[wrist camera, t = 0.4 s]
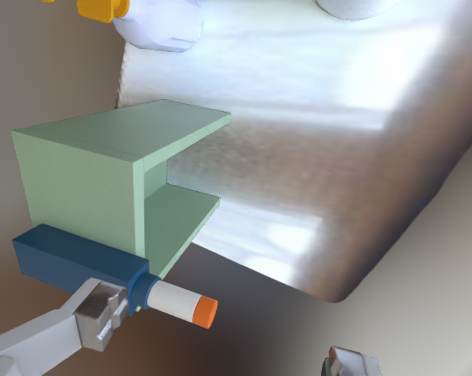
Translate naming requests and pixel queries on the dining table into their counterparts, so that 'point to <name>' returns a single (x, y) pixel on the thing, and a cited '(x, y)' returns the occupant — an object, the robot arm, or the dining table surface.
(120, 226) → the stand
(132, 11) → the soap bottle
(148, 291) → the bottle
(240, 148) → the dining table surface
